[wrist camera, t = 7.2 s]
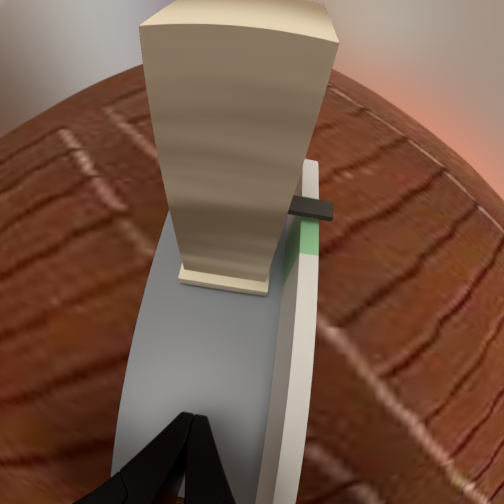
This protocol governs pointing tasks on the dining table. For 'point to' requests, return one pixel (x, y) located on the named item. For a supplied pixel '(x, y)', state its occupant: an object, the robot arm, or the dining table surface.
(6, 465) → the dining table surface
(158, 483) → the robot arm
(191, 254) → the beige brown box
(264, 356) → the board
